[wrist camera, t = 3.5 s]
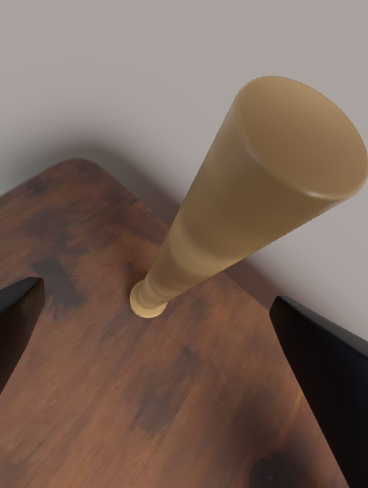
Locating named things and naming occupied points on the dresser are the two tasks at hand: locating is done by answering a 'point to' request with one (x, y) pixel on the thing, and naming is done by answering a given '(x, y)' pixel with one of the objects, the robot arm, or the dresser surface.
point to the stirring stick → (256, 185)
